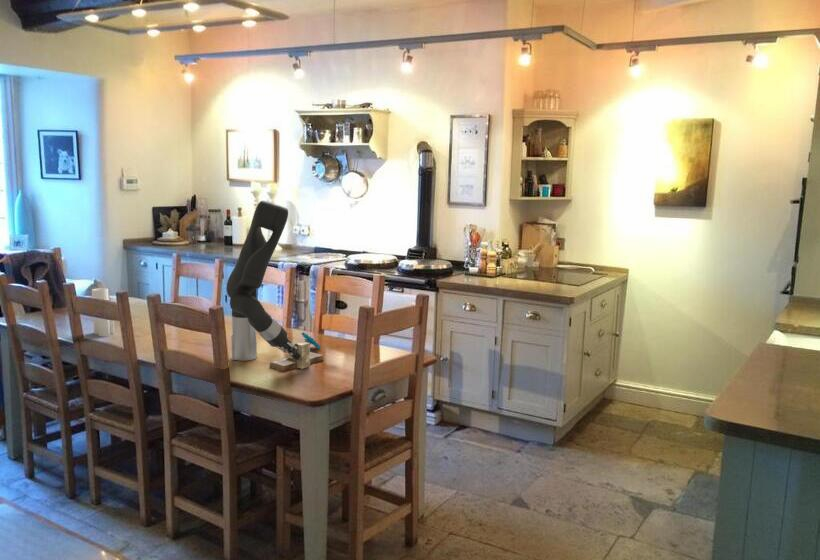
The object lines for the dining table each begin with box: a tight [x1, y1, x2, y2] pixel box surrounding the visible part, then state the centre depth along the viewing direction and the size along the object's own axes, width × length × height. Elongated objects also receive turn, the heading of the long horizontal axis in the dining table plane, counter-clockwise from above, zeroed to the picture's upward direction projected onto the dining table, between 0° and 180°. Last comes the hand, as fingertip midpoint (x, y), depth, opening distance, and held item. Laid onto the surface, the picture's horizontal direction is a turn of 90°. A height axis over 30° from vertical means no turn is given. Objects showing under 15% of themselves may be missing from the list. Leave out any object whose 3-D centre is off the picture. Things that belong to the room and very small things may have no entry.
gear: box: [301, 332, 322, 349], centre depth 276 cm, size 11×6×10 cm
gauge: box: [285, 341, 311, 369], centre depth 251 cm, size 4×10×9 cm, turn 51°
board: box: [269, 351, 324, 372], centre depth 255 cm, size 20×8×2 cm, turn 141°
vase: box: [91, 287, 115, 338], centre depth 296 cm, size 11×7×20 cm, turn 46°
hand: (298, 357), depth 247 cm, fingers closed
